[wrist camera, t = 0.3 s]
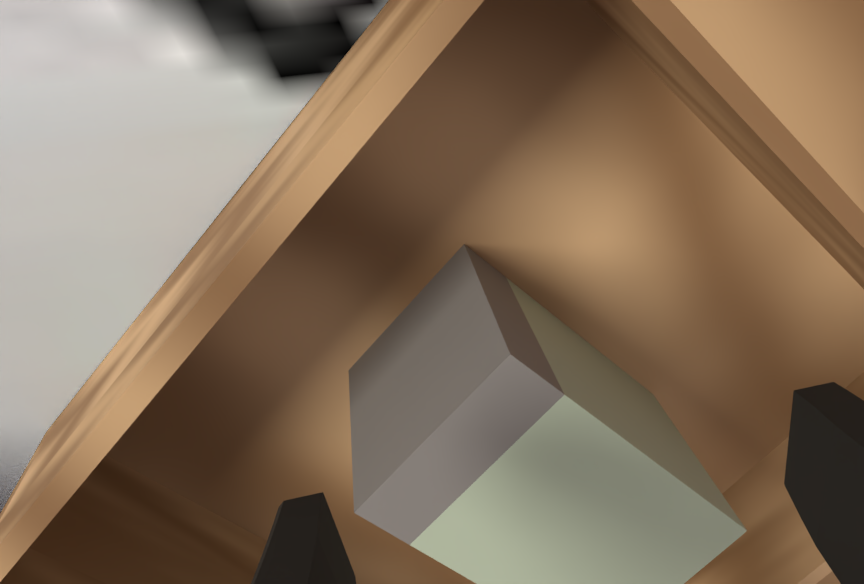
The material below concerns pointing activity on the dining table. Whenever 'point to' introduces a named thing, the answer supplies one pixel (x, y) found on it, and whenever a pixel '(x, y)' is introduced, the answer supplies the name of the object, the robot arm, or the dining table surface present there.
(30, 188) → the dining table surface
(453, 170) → the wooden tray
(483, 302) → the capped block
